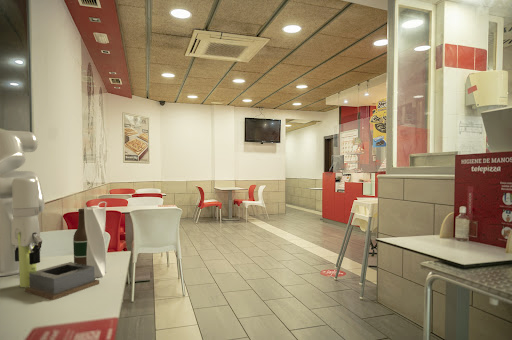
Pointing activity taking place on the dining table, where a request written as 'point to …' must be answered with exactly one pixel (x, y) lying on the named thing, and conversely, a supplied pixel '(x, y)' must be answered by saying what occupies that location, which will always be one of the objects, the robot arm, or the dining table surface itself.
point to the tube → (25, 264)
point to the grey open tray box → (61, 280)
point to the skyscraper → (96, 238)
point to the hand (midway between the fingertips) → (27, 261)
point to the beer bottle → (80, 240)
